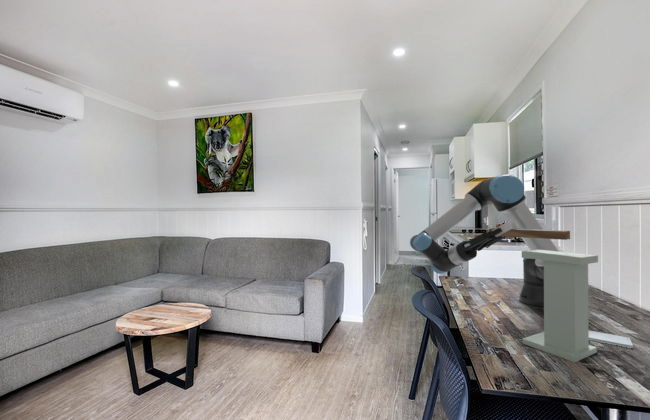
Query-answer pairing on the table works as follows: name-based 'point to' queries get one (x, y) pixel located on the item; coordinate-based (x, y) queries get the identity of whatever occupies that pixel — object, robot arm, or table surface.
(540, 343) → the sage stand
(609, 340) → the hard drive
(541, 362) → the table surface
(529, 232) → the walnut bar
